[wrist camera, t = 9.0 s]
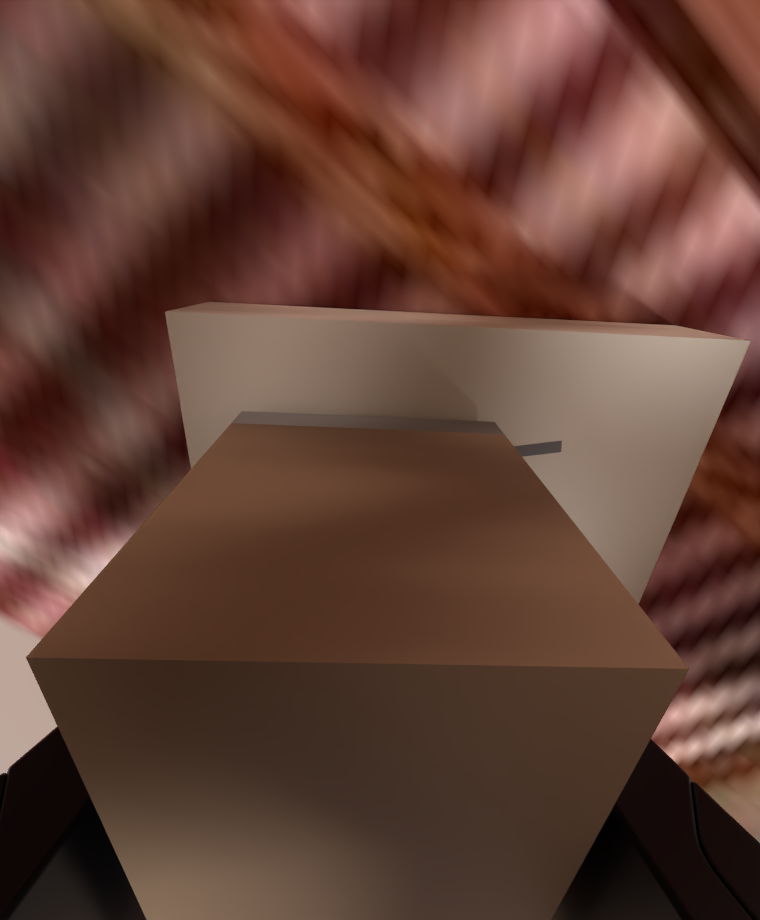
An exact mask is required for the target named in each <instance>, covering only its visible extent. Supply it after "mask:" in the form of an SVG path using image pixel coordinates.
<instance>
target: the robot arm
mask: <svg viewBox="0 0 760 920" xmlns="http://www.w3.org/2000/svg"><path fill="white" fill-rule="evenodd" d="M0 920H146V917H145V915H144V913H143V911H142V909H141V907H140V904H139V902H138V900H137V898H136V896H135V893H134V891H133V889H132V887H131V885H130V883H129V880H128V878H127V876H126V874H125V872H124V870H123V867H122V865H121V863H120V861H119V859H118V856H117V854H116V852H115V850H114V848H113V846H112V843H111V841H110V839H109V837H108V835H107V833H106V830H105V828H104V826H103V824H102V822H101V819H100V817H99V815H98V813H97V811H96V809H95V806H94V804H93V802H92V800H91V798H90V795H89V793H88V791H87V789H86V787H85V785H84V782H83V780H82V778H81V776H80V774H79V772H78V769H77V767H76V765H75V763H74V761H73V758H72V756H71V754H70V752H69V750H68V748H67V745H66V743H65V741H64V739H63V737H62V735H61V732H60V730H59V728H58V727H56V728H55V729H54V730H53V731H52V732H50V733H49V734H48V735H47V736H46V737H45V738H43V739H42V740H41V741H40V742H39V743H37V744H36V745H35V746H34V747H33V748H32V749H30V750H29V751H28V752H27V753H26V754H24V755H23V756H22V757H21V758H20V759H19V760H17V761H16V762H15V763H14V764H13V765H12V766H11V767H10V768H9V769H8V772H7V773H3V774H1V775H0ZM551 920H760V843H759V842H758V841H757V840H756V839H755V838H754V837H753V836H752V835H750V834H749V833H748V832H747V831H746V830H745V829H744V828H743V827H742V826H741V825H740V824H739V823H738V822H737V821H736V820H735V819H734V818H732V817H731V816H730V815H729V814H728V813H727V812H726V811H725V810H724V809H723V808H722V807H721V806H720V805H719V804H718V803H717V802H716V801H715V800H714V799H713V798H712V797H711V796H710V795H709V794H708V793H706V792H705V791H704V790H703V789H702V788H701V787H700V786H699V785H698V784H697V783H696V782H691V780H690V777H689V775H688V774H687V773H686V772H685V771H684V770H683V769H682V768H680V767H679V766H678V765H677V764H676V763H675V762H674V761H673V760H672V759H671V758H670V757H669V756H668V755H667V754H666V753H665V752H664V751H663V750H662V749H661V748H660V747H659V746H658V745H657V744H656V743H655V742H654V741H653V740H652V739H650V741H649V743H648V745H647V746H646V748H645V750H644V752H643V754H642V755H641V757H640V759H639V761H638V763H637V765H636V766H635V768H634V770H633V772H632V774H631V775H630V777H629V779H628V781H627V783H626V785H625V786H624V788H623V790H622V792H621V794H620V795H619V797H618V799H617V801H616V803H615V805H614V806H613V808H612V810H611V812H610V814H609V815H608V817H607V819H606V821H605V823H604V825H603V826H602V828H601V830H600V832H599V834H598V835H597V837H596V839H595V841H594V843H593V845H592V846H591V848H590V850H589V852H588V854H587V855H586V857H585V859H584V861H583V863H582V864H581V866H580V868H579V870H578V872H577V874H576V875H575V877H574V879H573V881H572V883H571V884H570V886H569V888H568V890H567V892H566V894H565V895H564V897H563V899H562V901H561V903H560V904H559V906H558V908H557V910H556V912H555V914H554V915H553V917H552V919H551Z"/></svg>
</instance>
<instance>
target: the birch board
mask: <svg viewBox="0 0 760 920" xmlns="http://www.w3.org/2000/svg"><path fill="white" fill-rule="evenodd" d="M165 316H166V322H167V328H168V334H169V340H170V346H171V352H172V358H173V364H174V370H175V376H176V382H177V388H178V394H179V400H180V406H181V412H182V418H183V424H184V430H185V436H186V442H187V448H188V454H189V460H190V466H191V469H192V467H193V466H194V465H195V464H196V463H197V462H198V461H199V459H200V458H201V457H202V456H203V455H204V454H205V453H206V451H207V450H208V449H209V448H210V447H211V446H212V445H213V443H214V442H215V441H216V440H217V439H218V438H219V437H220V435H221V434H222V433H223V432H224V431H225V430H226V429H227V427H228V426H229V425H230V424H231V423H232V422H233V421H234V419H235V418H236V417H237V416H238V415H239V414H240V413H241V411H251V412H275V413H299V414H322V415H346V416H370V417H394V418H418V419H442V420H465V421H489V422H495V423H496V424H497V425H498V427H499V428H500V429H501V431H502V432H503V433H504V434H505V436H506V437H507V438H508V439H509V441H510V442H511V443H512V445H513V446H514V447H515V448H516V450H517V451H518V452H519V453H520V455H521V456H522V457H523V458H524V460H525V461H526V462H527V464H528V465H529V466H530V467H531V469H532V470H533V471H534V472H535V474H536V475H537V476H538V478H539V479H540V480H541V481H542V483H543V484H544V485H545V486H546V488H547V489H548V490H549V491H550V493H551V494H552V495H553V497H554V498H555V499H556V500H557V502H558V503H559V504H560V505H561V507H562V508H563V509H564V511H565V512H566V513H567V514H568V516H569V517H570V518H571V519H572V521H573V522H574V523H575V524H576V526H577V527H578V528H579V530H580V531H581V532H582V533H583V535H584V536H585V537H586V538H587V540H588V541H589V542H590V544H591V545H592V546H593V547H594V549H595V550H596V551H597V552H598V554H599V555H600V556H601V557H602V559H603V560H604V561H605V563H606V564H607V565H608V566H609V568H610V569H611V570H612V571H613V573H614V574H615V575H616V577H617V578H618V579H619V580H620V582H621V583H622V584H623V585H624V587H625V588H626V589H627V591H628V592H629V593H630V594H631V596H632V597H633V598H634V599H635V601H636V602H637V603H638V604H639V602H640V600H641V598H642V595H643V593H644V591H645V588H646V586H647V584H648V581H649V579H650V576H651V574H652V572H653V569H654V567H655V565H656V562H657V560H658V558H659V555H660V553H661V551H662V548H663V546H664V544H665V541H666V539H667V537H668V534H669V532H670V530H671V527H672V525H673V522H674V520H675V518H676V515H677V513H678V511H679V508H680V506H681V504H682V501H683V499H684V497H685V494H686V492H687V490H688V487H689V485H690V483H691V480H692V478H693V476H694V473H695V471H696V468H697V466H698V464H699V461H700V459H701V457H702V454H703V452H704V450H705V447H706V445H707V443H708V440H709V438H710V436H711V433H712V431H713V429H714V426H715V424H716V422H717V419H718V417H719V415H720V412H721V410H722V407H723V405H724V403H725V400H726V398H727V396H728V393H729V391H730V389H731V386H732V384H733V382H734V379H735V377H736V375H737V372H738V370H739V368H740V365H741V363H742V361H743V358H744V356H745V353H746V351H747V349H748V346H749V344H750V342H751V341H750V340H745V339H740V338H735V337H730V336H725V335H720V334H715V333H710V332H705V331H700V330H695V329H690V328H685V327H680V326H675V325H659V324H639V323H619V322H599V321H580V320H560V319H540V318H520V317H500V316H480V315H461V314H441V313H421V312H401V311H381V310H362V309H342V308H322V307H302V306H282V305H263V304H243V303H223V302H205V303H201V304H197V305H192V306H188V307H183V308H179V309H175V310H170V311H166V312H165Z"/></svg>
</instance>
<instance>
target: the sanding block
mask: <svg viewBox="0 0 760 920" xmlns="http://www.w3.org/2000/svg"><path fill="white" fill-rule="evenodd" d="M26 658H27V660H28V663H29V665H30V667H31V669H32V671H33V673H34V676H35V678H36V680H37V682H38V684H39V686H40V689H41V691H42V693H43V695H44V697H45V700H46V702H47V704H48V706H49V708H50V710H51V713H52V715H53V717H54V719H55V721H56V724H57V726H58V728H59V730H60V732H61V735H62V737H63V739H64V741H65V743H66V745H67V748H68V750H69V752H70V754H71V756H72V758H73V761H74V763H75V765H76V767H77V769H78V772H79V774H80V776H81V778H82V780H83V782H84V785H85V787H86V789H87V791H88V793H89V795H90V798H91V800H92V802H93V804H94V806H95V809H96V811H97V813H98V815H99V817H100V819H101V822H102V824H103V826H104V828H105V830H106V833H107V835H108V837H109V839H110V841H111V843H112V846H113V848H114V850H115V852H116V854H117V856H118V859H119V861H120V863H121V865H122V867H123V870H124V872H125V874H126V876H127V878H128V880H129V883H130V885H131V887H132V889H133V891H134V893H135V896H136V898H137V900H138V902H139V904H140V907H141V909H142V911H143V913H144V915H145V917H146V920H551V919H552V917H553V915H554V914H555V912H556V910H557V908H558V906H559V904H560V903H561V901H562V899H563V897H564V895H565V894H566V892H567V890H568V888H569V886H570V884H571V883H572V881H573V879H574V877H575V875H576V874H577V872H578V870H579V868H580V866H581V864H582V863H583V861H584V859H585V857H586V855H587V854H588V852H589V850H590V848H591V846H592V845H593V843H594V841H595V839H596V837H597V835H598V834H599V832H600V830H601V828H602V826H603V825H604V823H605V821H606V819H607V817H608V815H609V814H610V812H611V810H612V808H613V806H614V805H615V803H616V801H617V799H618V797H619V795H620V794H621V792H622V790H623V788H624V786H625V785H626V783H627V781H628V779H629V777H630V775H631V774H632V772H633V770H634V768H635V766H636V765H637V763H638V761H639V759H640V757H641V755H642V754H643V752H644V750H645V748H646V746H647V745H648V743H649V741H650V739H651V737H652V736H653V734H654V732H655V730H656V728H657V726H658V725H659V723H660V721H661V719H662V717H663V716H664V714H665V712H666V710H667V708H668V706H669V705H670V703H671V701H672V699H673V697H674V696H675V694H676V692H677V690H678V688H679V686H680V685H681V683H682V681H683V679H684V677H685V676H686V674H687V672H688V670H689V668H688V667H687V665H686V664H685V663H684V662H683V660H682V659H681V658H680V657H679V655H678V654H677V653H676V651H675V650H674V649H673V648H672V646H671V645H670V644H669V643H668V641H667V640H666V639H665V637H664V636H663V635H662V634H661V632H660V631H659V630H658V629H657V627H656V626H655V625H654V624H653V622H652V621H651V620H650V618H649V617H648V616H647V615H646V613H645V612H644V611H643V610H642V608H641V607H640V606H639V604H638V603H637V602H636V601H635V599H634V598H633V597H632V596H631V594H630V593H629V592H628V591H627V589H626V588H625V587H624V585H623V584H622V583H621V582H620V580H619V579H618V578H617V577H616V575H615V574H614V573H613V571H612V570H611V569H610V568H609V566H608V565H607V564H606V563H605V561H604V560H603V559H602V557H601V556H600V555H599V554H598V552H597V551H596V550H595V549H594V547H593V546H592V545H591V544H590V542H589V541H588V540H587V538H586V537H585V536H584V535H583V533H582V532H581V531H580V530H579V528H578V527H577V526H576V524H575V523H574V522H573V521H572V519H571V518H570V517H569V516H568V514H567V513H566V512H565V511H564V509H563V508H562V507H561V505H560V504H559V503H558V502H557V500H556V499H555V498H554V497H553V495H552V494H551V493H550V491H549V490H548V489H547V488H546V486H545V485H544V484H543V483H542V481H541V480H540V479H539V478H538V476H537V475H536V474H535V472H534V471H533V470H532V469H531V467H530V466H529V465H528V464H527V462H526V461H525V460H524V458H523V457H522V456H521V455H520V453H519V452H518V451H517V450H516V448H515V447H514V446H513V445H512V443H511V442H510V441H509V439H508V438H507V437H506V436H505V434H504V433H503V432H502V431H501V429H500V428H499V427H498V425H497V424H496V423H495V422H489V421H465V420H442V419H418V418H394V417H370V416H346V415H322V414H299V413H275V412H251V411H241V413H240V414H239V415H238V416H237V417H236V418H235V419H234V421H233V422H232V423H231V424H230V425H229V426H228V427H227V429H226V430H225V431H224V432H223V433H222V434H221V435H220V437H219V438H218V439H217V440H216V441H215V442H214V443H213V445H212V446H211V447H210V448H209V449H208V450H207V451H206V453H205V454H204V455H203V456H202V457H201V458H200V459H199V461H198V462H197V463H196V464H195V465H194V466H193V467H192V469H191V470H190V471H189V472H188V473H187V474H186V475H185V477H184V478H183V479H182V480H181V481H180V482H179V483H178V485H177V486H176V487H175V488H174V489H173V490H172V491H171V493H170V494H169V495H168V496H167V497H166V498H165V499H164V501H163V502H162V503H161V504H160V505H159V506H158V507H157V509H156V510H155V511H154V512H153V513H152V514H151V515H150V517H149V518H148V519H147V520H146V521H145V522H144V523H143V525H142V526H141V527H140V528H139V529H138V530H137V531H136V533H135V534H134V535H133V536H132V537H131V538H130V539H129V541H128V542H127V543H126V544H125V545H124V546H123V547H122V549H121V550H120V551H119V552H118V553H117V554H116V555H115V557H114V558H113V559H112V560H111V561H110V562H109V563H108V565H107V566H106V567H105V568H104V569H103V570H102V571H101V573H100V574H99V575H98V576H97V577H96V578H95V579H94V580H93V582H92V583H91V584H90V585H89V586H88V587H87V588H86V590H85V591H84V592H83V593H82V594H81V595H80V596H79V598H78V599H77V600H76V601H75V602H74V603H73V604H72V606H71V607H70V608H69V609H68V610H67V611H66V612H65V614H64V615H63V616H62V617H61V618H60V619H59V620H58V622H57V623H56V624H55V625H54V626H53V627H52V628H51V630H50V631H49V632H48V633H47V634H46V635H45V636H44V638H43V639H42V640H41V641H40V642H39V643H38V644H37V646H36V647H35V648H34V649H33V650H32V651H31V653H30V654H29V655H28V656H27V657H26Z"/></svg>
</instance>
